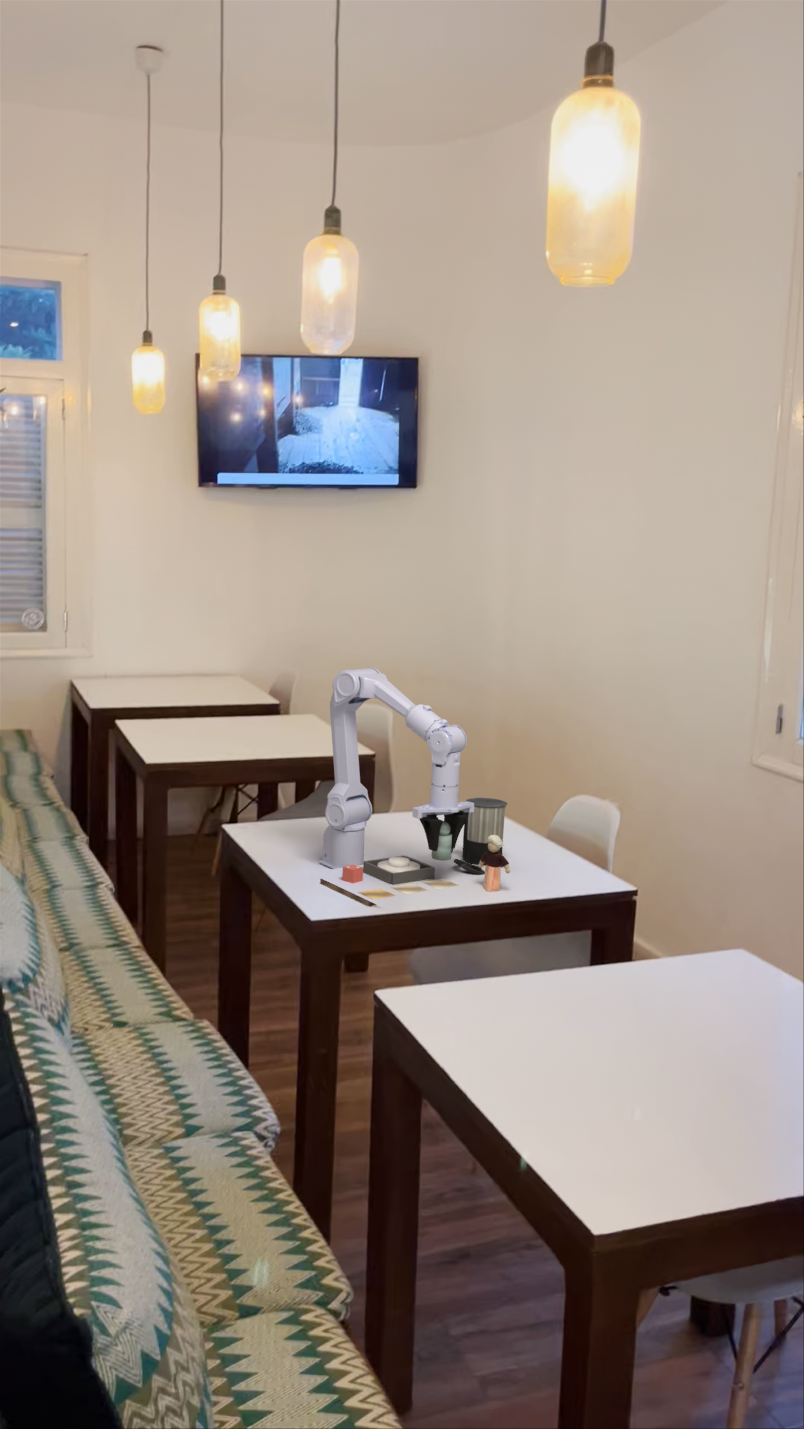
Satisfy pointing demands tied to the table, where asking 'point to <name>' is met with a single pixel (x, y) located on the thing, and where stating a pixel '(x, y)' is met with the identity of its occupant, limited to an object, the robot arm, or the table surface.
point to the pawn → (443, 843)
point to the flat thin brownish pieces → (383, 894)
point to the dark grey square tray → (398, 877)
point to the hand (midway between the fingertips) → (441, 848)
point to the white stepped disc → (398, 864)
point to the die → (352, 874)
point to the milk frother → (481, 831)
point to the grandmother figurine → (493, 864)
